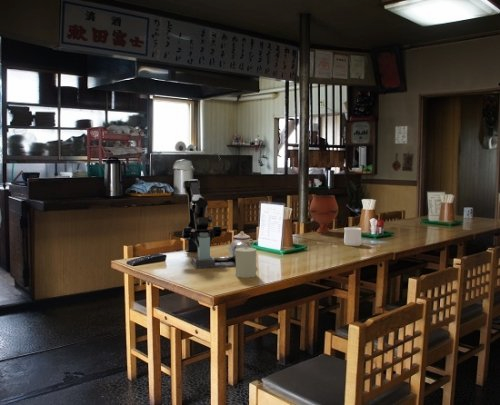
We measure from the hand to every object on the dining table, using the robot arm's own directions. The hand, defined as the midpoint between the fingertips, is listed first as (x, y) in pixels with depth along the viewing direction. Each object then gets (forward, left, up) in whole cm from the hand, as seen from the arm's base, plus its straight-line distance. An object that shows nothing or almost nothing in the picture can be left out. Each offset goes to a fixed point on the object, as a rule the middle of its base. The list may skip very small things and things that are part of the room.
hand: (204, 246), depth 231 cm
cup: (-77, +60, -9) cm, 98 cm away
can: (+12, +25, -9) cm, 29 cm away
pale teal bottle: (-1, -1, -7) cm, 7 cm away
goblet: (-118, +36, -9) cm, 124 cm away
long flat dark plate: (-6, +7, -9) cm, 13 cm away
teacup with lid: (-33, +8, -9) cm, 35 cm away
